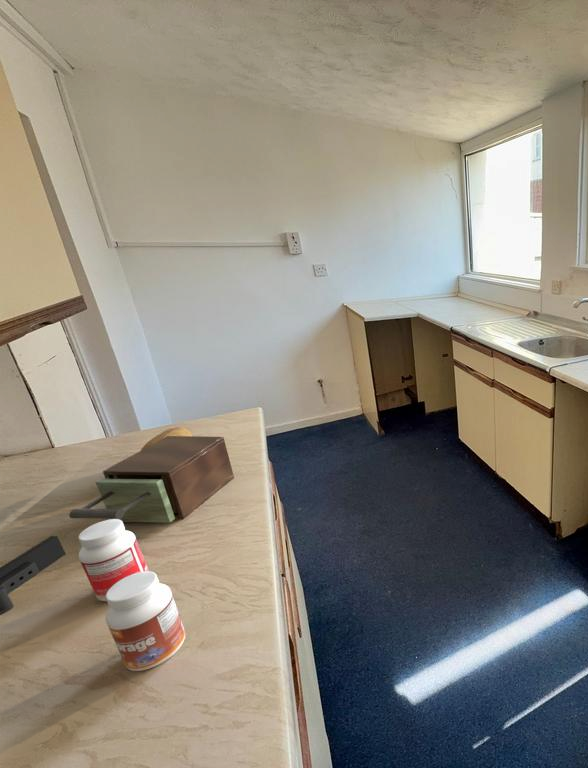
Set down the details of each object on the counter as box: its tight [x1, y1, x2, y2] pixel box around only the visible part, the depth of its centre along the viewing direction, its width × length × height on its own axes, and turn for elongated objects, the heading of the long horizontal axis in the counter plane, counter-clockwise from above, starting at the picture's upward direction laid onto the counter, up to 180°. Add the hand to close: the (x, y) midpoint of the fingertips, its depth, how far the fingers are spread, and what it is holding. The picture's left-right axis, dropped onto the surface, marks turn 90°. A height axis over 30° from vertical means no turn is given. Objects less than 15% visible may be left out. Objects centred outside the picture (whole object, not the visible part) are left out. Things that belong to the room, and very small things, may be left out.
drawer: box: [68, 475, 178, 523], centre depth 77 cm, size 20×11×9 cm, turn 179°
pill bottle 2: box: [105, 570, 186, 672], centre depth 51 cm, size 6×6×11 cm
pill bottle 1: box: [78, 519, 150, 602], centre depth 60 cm, size 6×6×11 cm
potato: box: [140, 427, 193, 451], centre depth 96 cm, size 10×14×8 cm
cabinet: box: [102, 435, 235, 520], centre depth 83 cm, size 15×13×11 cm
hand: (3, 544), depth 47 cm, fingers open, 13 cm apart
